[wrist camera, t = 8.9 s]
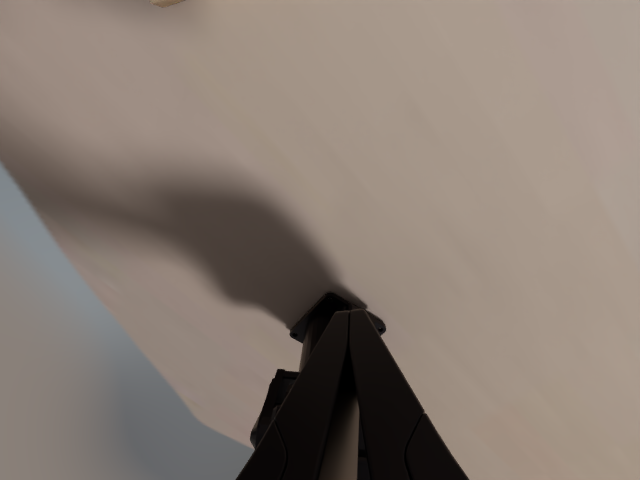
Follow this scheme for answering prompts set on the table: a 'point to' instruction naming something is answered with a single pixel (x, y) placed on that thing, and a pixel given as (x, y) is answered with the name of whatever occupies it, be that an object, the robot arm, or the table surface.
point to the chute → (164, 2)
